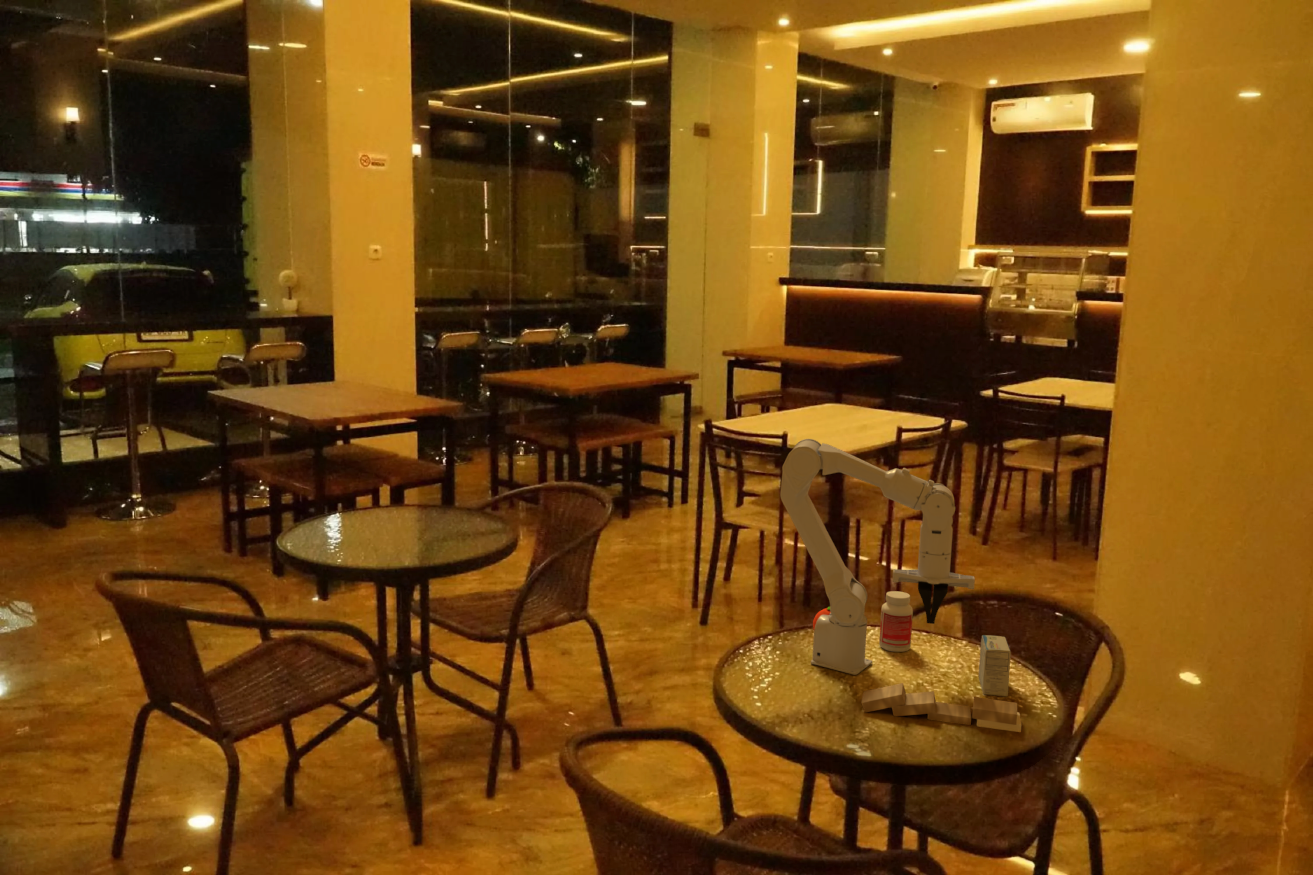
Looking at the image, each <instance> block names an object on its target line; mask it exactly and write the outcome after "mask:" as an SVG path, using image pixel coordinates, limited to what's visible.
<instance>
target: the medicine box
mask: <svg viewBox="0 0 1313 875" xmlns="http://www.w3.org/2000/svg"><path fill="white" fill-rule="evenodd" d="M979 652H980V653H979V661H978V662H979V663H978V665H979V666H978V680H979V684H980V687H981V691H982V694H983V695H988V696H994V697H995V696H997V697H998V696H999V697H1008V696H1009V682H1010V667H1011V658H1012V657H1011V655H1012V652H1011V649H1010V646H1009V643H1008V640H1007V638H1006V637H1005V636H1000V635H991V634H990V635H986V634H983V635H981V639H980V650H979Z"/></svg>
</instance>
